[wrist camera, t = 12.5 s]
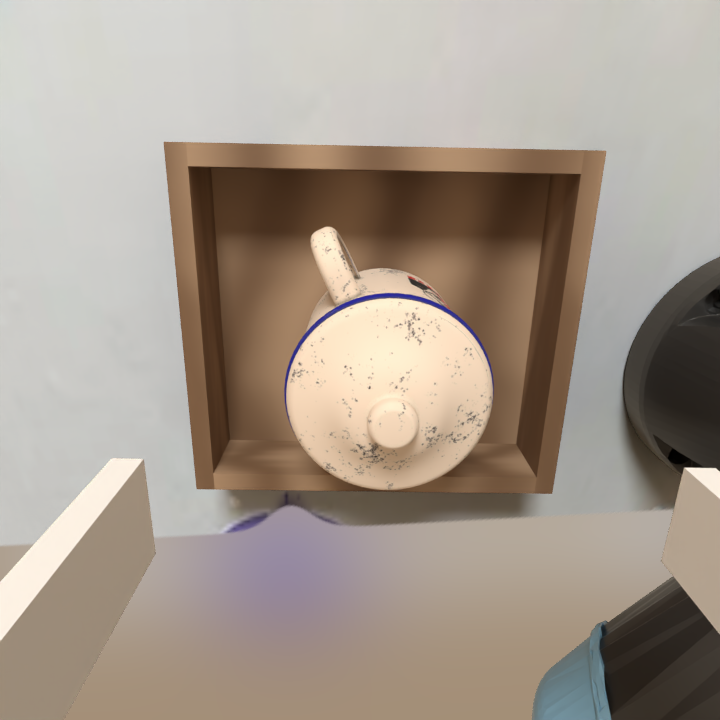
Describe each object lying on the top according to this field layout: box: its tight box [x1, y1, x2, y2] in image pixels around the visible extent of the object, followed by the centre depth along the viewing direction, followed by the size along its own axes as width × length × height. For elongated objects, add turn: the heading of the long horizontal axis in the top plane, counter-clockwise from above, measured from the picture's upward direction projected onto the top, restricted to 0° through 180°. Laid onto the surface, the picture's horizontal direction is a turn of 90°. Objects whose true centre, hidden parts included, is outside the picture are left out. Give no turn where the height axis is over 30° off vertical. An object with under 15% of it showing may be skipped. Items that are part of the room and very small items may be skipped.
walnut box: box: [164, 142, 606, 494], centre depth 29 cm, size 20×18×5 cm
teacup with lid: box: [284, 227, 494, 490], centre depth 25 cm, size 12×9×12 cm
